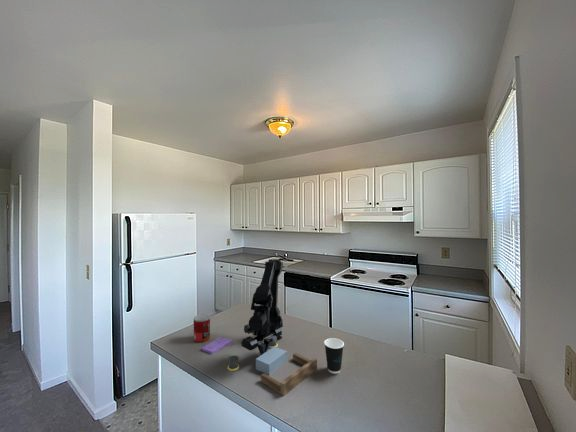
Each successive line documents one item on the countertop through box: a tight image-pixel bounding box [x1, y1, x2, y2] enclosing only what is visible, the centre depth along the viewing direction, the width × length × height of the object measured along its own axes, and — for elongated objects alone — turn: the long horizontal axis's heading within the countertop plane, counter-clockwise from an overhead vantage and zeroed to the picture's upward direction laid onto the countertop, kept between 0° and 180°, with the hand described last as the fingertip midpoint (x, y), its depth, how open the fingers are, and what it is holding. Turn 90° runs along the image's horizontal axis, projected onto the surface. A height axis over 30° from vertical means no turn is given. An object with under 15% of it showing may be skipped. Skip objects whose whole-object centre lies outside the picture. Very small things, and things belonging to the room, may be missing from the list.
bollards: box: [227, 336, 279, 372], centre depth 112 cm, size 28×5×4 cm, turn 139°
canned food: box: [193, 314, 211, 343], centre depth 128 cm, size 8×8×11 cm
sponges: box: [201, 336, 233, 355], centre depth 121 cm, size 7×13×2 cm, turn 149°
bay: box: [260, 352, 318, 397], centre depth 99 cm, size 20×12×4 cm, turn 139°
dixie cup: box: [323, 337, 345, 375], centre depth 102 cm, size 8×8×11 cm
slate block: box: [255, 346, 288, 376], centre depth 106 cm, size 12×7×4 cm, turn 145°
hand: (262, 356), depth 109 cm, fingers closed
